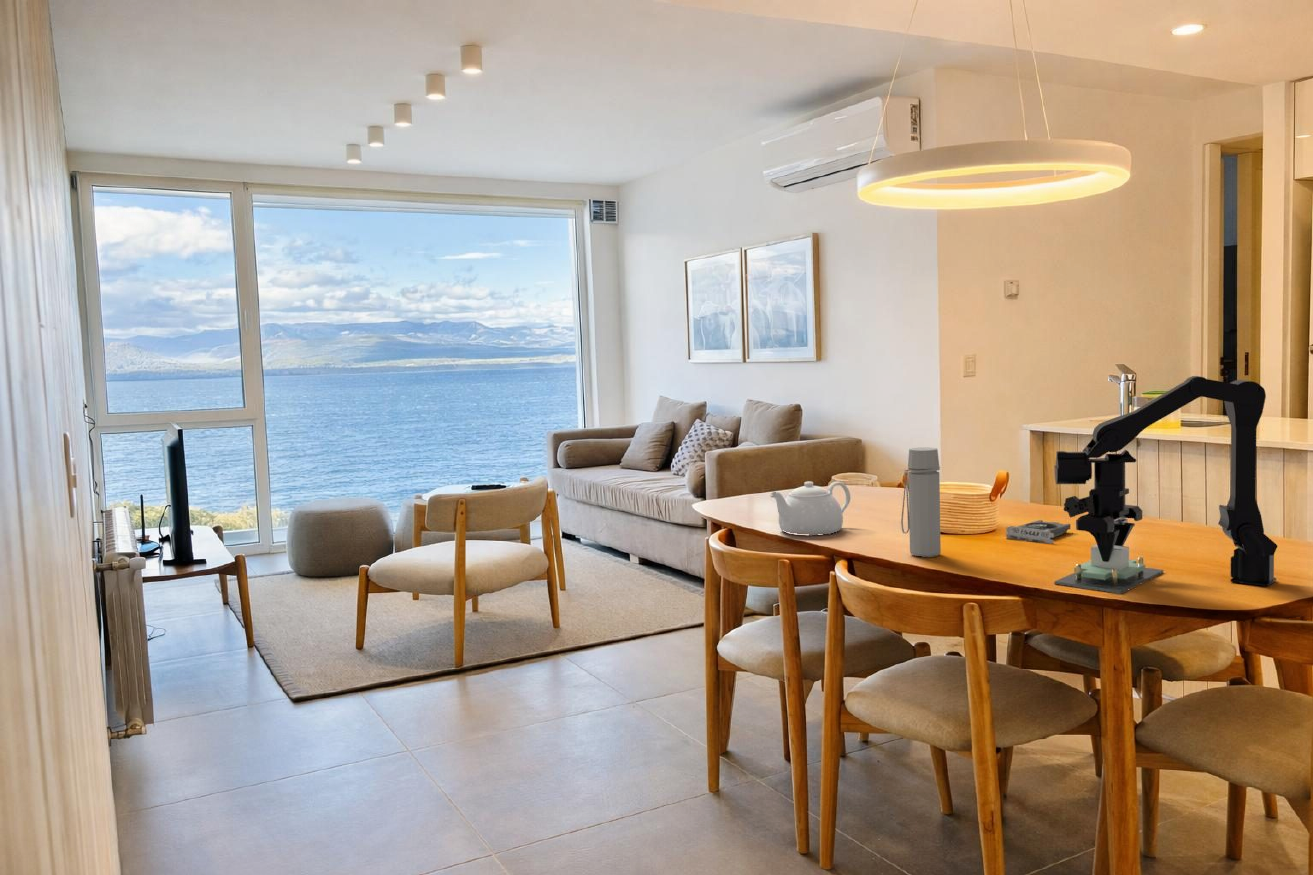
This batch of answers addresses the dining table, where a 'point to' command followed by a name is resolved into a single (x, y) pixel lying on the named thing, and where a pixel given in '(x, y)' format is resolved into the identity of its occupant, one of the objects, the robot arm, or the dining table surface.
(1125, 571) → the board
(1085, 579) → the plate
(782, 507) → the teapot
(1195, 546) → the dining table surface
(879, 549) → the dining table surface
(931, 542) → the water bottle
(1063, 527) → the graphics card
